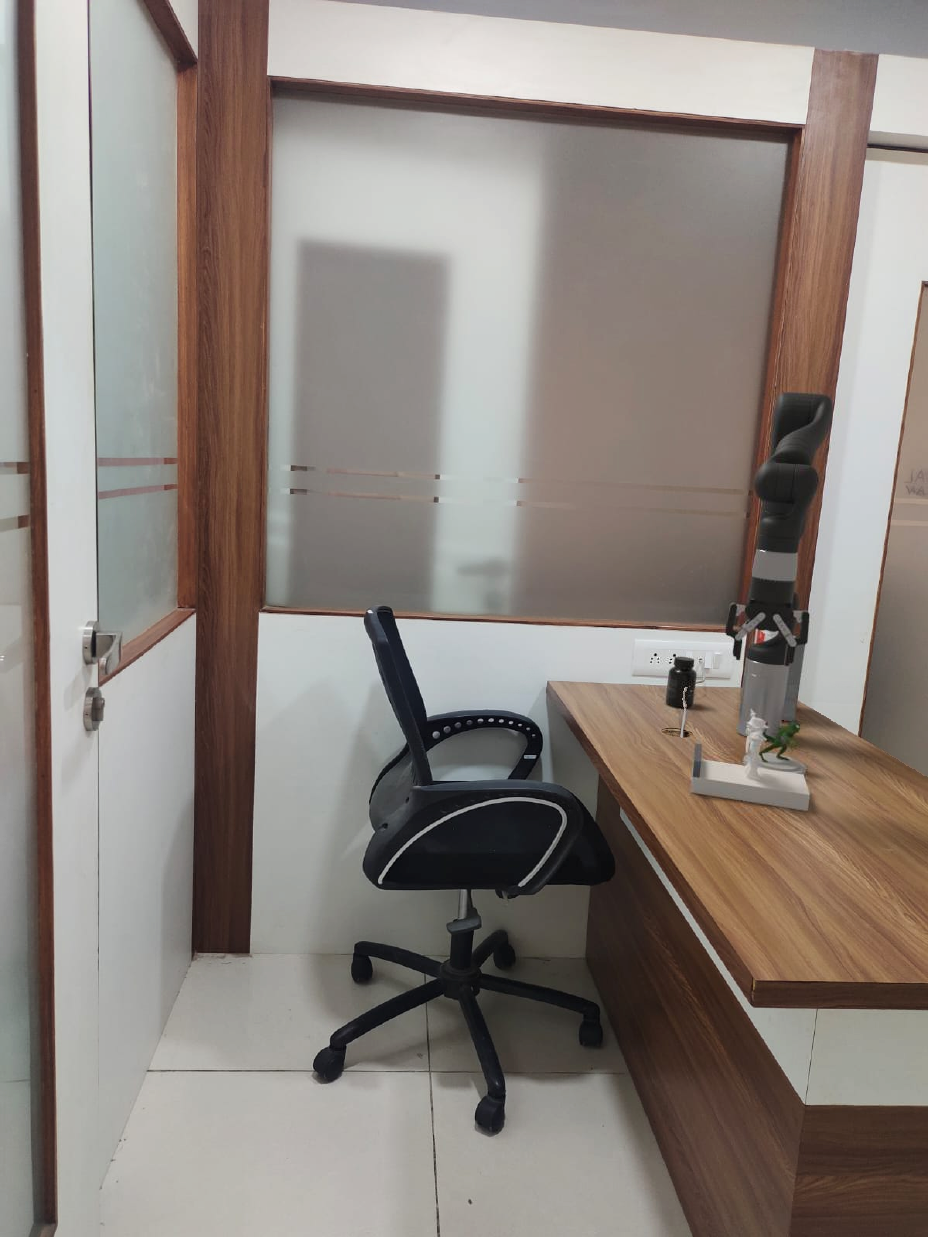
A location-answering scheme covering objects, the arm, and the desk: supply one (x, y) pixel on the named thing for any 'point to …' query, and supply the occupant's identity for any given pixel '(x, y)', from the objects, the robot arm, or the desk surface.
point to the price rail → (697, 760)
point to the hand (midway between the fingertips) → (762, 662)
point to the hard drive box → (793, 675)
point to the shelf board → (751, 785)
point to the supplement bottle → (681, 682)
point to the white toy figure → (754, 745)
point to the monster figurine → (778, 760)
